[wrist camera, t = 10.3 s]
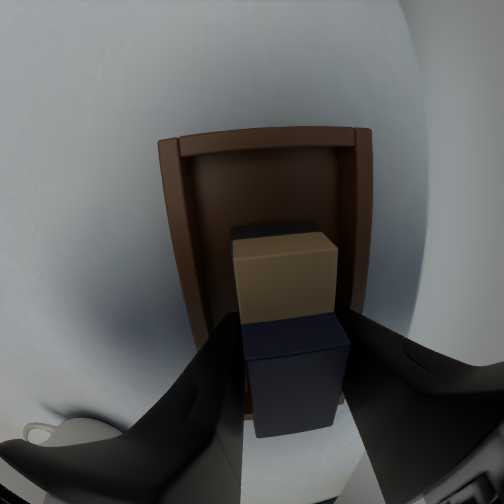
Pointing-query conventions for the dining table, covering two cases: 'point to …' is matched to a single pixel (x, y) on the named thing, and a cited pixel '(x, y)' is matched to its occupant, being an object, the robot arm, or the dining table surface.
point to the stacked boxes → (289, 325)
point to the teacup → (74, 432)
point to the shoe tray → (264, 206)
